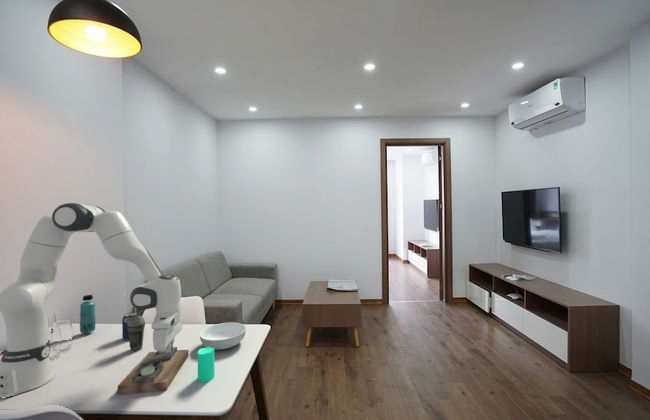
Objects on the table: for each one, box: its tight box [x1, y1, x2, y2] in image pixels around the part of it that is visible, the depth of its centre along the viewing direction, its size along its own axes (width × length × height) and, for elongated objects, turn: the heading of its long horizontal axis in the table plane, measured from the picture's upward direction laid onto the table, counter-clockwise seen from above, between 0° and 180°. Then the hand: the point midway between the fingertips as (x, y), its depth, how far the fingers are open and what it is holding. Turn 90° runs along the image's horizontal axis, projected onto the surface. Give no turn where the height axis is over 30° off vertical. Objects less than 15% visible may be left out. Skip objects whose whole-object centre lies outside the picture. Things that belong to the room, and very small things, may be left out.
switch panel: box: [117, 346, 189, 395], centre depth 117 cm, size 16×25×5 cm, turn 8°
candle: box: [197, 347, 215, 383], centre depth 114 cm, size 6×6×12 cm
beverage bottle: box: [79, 294, 97, 334], centre depth 156 cm, size 6×7×20 cm
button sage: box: [141, 366, 155, 376], centre depth 110 cm, size 4×4×2 cm
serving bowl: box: [199, 322, 247, 350], centre depth 142 cm, size 21×21×7 cm
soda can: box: [121, 311, 139, 341], centre depth 150 cm, size 7×7×12 cm
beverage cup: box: [127, 308, 146, 353], centre depth 138 cm, size 7×7×20 cm
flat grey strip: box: [140, 352, 172, 367], centre depth 117 cm, size 10×4×1 cm, turn 98°
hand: (169, 350), depth 118 cm, fingers closed
